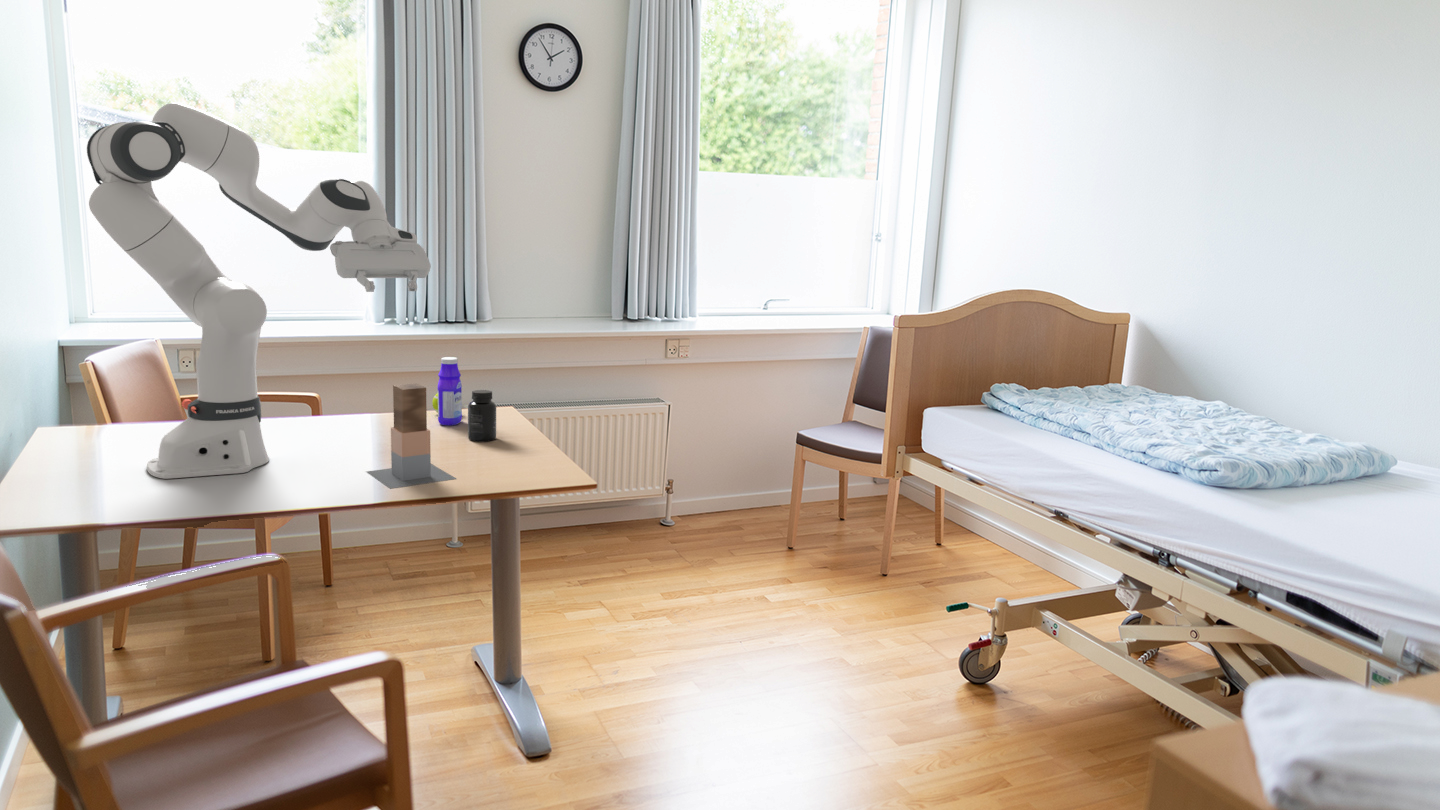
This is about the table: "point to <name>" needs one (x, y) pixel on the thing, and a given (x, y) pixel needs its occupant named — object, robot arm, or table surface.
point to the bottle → (449, 392)
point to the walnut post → (409, 408)
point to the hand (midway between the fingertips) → (392, 289)
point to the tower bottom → (411, 466)
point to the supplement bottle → (482, 417)
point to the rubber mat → (394, 482)
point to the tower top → (410, 442)
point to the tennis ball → (435, 402)
